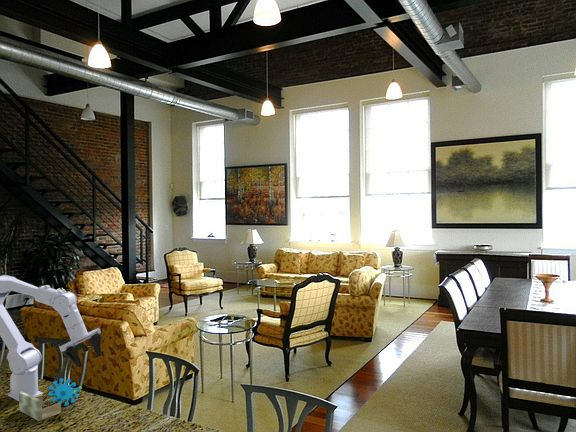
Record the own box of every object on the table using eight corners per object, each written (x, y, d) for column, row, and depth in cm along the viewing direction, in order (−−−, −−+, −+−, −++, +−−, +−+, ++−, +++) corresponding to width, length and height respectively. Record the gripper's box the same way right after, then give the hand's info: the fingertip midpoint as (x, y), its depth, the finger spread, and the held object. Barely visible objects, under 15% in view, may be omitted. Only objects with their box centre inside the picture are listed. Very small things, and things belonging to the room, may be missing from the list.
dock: (19, 410, 150) (19, 392, 150) (41, 403, 156) (40, 385, 156) (38, 421, 143) (38, 402, 142) (61, 412, 148) (60, 394, 148)
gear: (51, 406, 149) (46, 379, 154) (45, 416, 151) (40, 388, 157) (85, 401, 157) (79, 375, 162) (79, 410, 159) (73, 384, 165)
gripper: (60, 332, 152) (76, 370, 152) (98, 315, 164) (113, 349, 164) (51, 335, 157) (66, 372, 157) (89, 318, 168) (103, 352, 168)
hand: (89, 361), depth 161 cm, fingers open, 7 cm apart
